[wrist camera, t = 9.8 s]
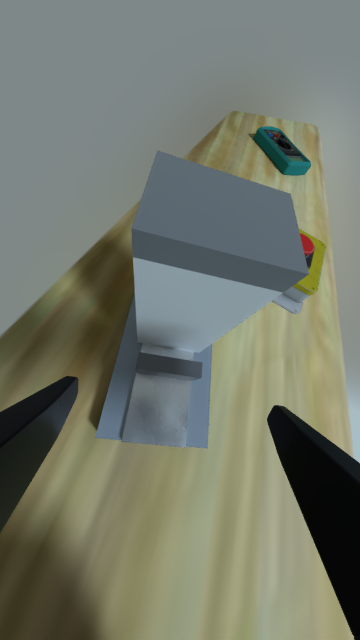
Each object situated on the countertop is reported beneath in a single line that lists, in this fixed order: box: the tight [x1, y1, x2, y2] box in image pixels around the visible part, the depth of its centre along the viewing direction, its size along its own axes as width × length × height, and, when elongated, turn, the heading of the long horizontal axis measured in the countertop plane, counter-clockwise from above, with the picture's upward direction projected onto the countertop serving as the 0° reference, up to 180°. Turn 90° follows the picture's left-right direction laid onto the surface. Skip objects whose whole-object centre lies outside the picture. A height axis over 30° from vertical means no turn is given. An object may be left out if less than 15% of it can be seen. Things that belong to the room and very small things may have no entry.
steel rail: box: [122, 343, 194, 447], centre depth 17 cm, size 15×5×1 cm, turn 173°
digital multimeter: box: [254, 127, 311, 175], centre depth 42 cm, size 7×15×3 cm, turn 21°
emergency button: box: [272, 228, 326, 314], centre depth 26 cm, size 9×4×15 cm
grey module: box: [132, 151, 309, 353], centre depth 12 cm, size 5×6×12 cm
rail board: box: [95, 292, 212, 448], centre depth 18 cm, size 15×9×2 cm, turn 173°
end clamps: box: [135, 352, 203, 381], centre depth 16 cm, size 10×5×3 cm, turn 173°
